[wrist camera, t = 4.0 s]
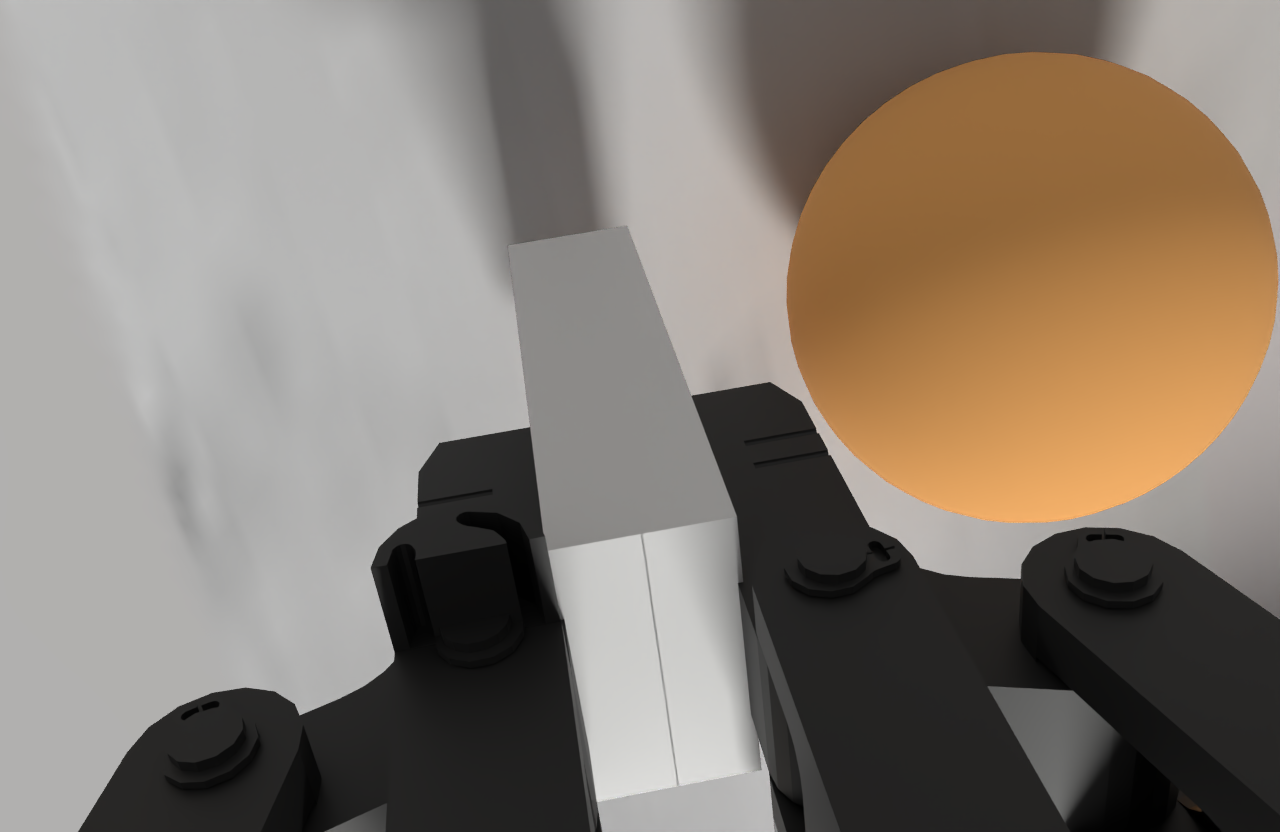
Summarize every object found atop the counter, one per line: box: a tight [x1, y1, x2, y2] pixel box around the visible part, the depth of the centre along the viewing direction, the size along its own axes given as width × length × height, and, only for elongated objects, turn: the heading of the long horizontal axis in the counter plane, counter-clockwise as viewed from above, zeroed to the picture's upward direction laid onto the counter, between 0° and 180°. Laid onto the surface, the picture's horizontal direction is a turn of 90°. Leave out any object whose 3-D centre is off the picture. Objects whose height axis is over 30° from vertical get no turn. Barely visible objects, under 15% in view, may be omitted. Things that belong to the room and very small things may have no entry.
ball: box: [787, 52, 1278, 523], centre depth 15 cm, size 6×6×6 cm
